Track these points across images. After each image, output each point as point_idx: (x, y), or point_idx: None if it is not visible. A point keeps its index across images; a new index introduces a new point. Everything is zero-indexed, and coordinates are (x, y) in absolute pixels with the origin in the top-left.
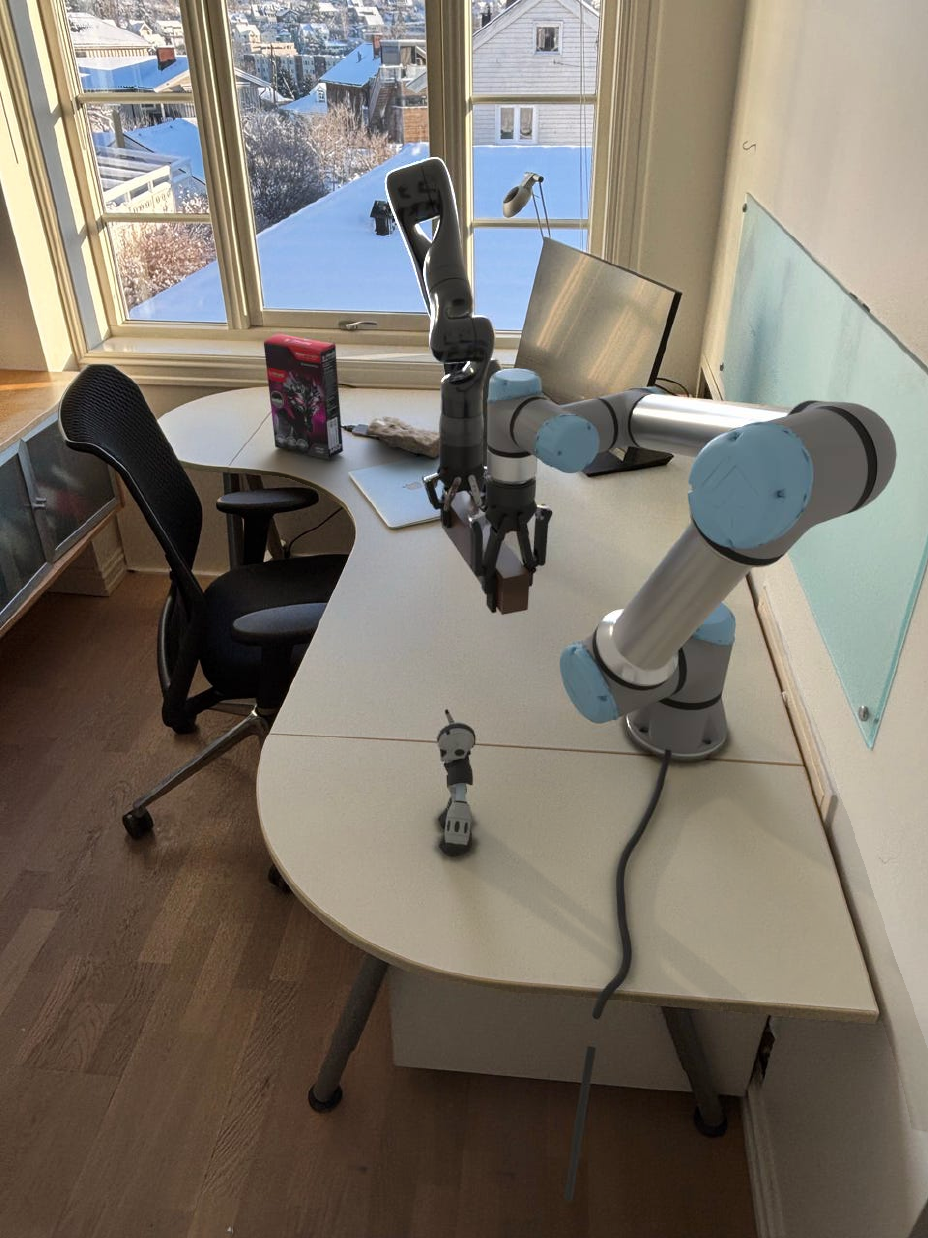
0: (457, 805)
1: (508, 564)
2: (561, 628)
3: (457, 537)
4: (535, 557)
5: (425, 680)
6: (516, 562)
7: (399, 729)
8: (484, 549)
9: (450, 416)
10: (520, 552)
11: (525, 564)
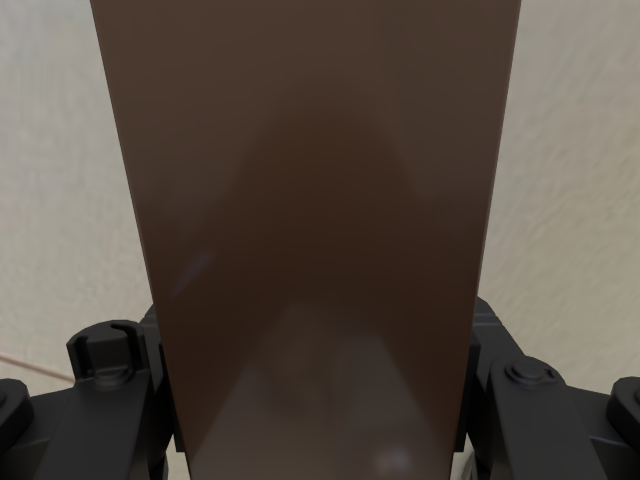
0: None
1: (319, 471)
2: (573, 57)
3: None
4: (614, 477)
5: (84, 185)
6: (405, 466)
7: (10, 334)
8: (141, 142)
9: None
10: (508, 465)
11: (485, 434)
